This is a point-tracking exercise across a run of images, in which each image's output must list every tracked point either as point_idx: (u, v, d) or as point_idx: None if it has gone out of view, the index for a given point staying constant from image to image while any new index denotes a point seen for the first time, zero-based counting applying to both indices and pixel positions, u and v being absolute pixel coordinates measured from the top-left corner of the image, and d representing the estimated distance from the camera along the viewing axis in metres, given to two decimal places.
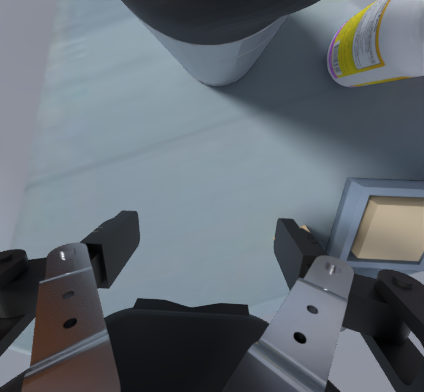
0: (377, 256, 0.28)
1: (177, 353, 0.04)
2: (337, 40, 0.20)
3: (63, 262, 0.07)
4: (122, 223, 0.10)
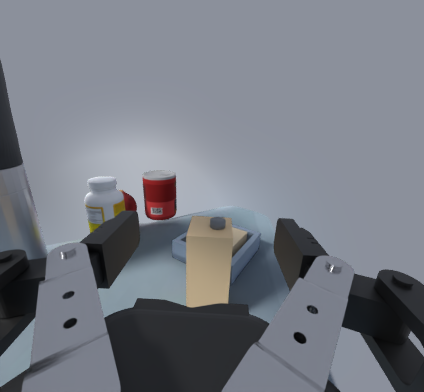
0: None
1: (177, 353, 0.04)
2: None
3: (63, 262, 0.07)
4: (122, 223, 0.10)
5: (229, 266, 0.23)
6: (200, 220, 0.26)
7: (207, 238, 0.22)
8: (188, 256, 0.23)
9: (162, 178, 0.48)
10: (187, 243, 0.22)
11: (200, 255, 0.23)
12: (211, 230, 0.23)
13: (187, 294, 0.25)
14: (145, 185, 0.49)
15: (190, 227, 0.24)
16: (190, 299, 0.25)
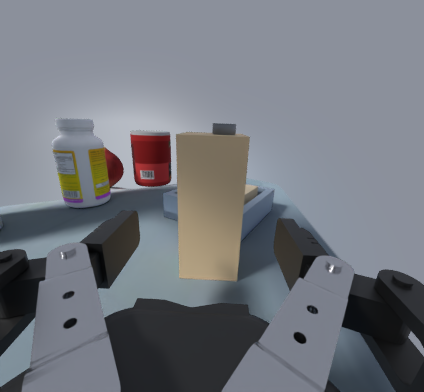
0: None
1: (177, 353, 0.04)
2: (62, 192, 0.31)
3: (63, 262, 0.07)
4: (122, 223, 0.10)
5: (243, 187, 0.15)
6: None
7: (209, 138, 0.14)
8: (180, 172, 0.15)
9: (153, 133, 0.40)
10: (178, 148, 0.14)
11: (199, 170, 0.15)
12: None
13: (180, 237, 0.17)
14: (133, 143, 0.41)
15: (183, 133, 0.16)
16: (184, 246, 0.17)
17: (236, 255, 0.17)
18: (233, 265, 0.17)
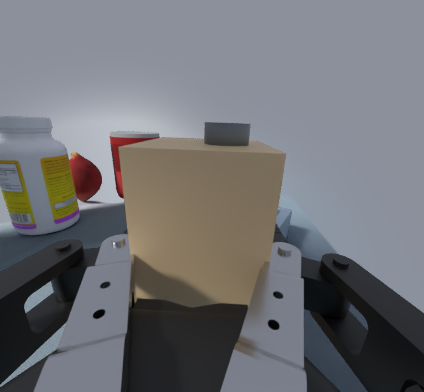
0: None
1: (177, 353, 0.04)
2: None
3: (118, 251, 0.08)
4: None
5: (265, 257, 0.07)
6: (179, 139, 0.10)
7: (195, 157, 0.06)
8: (134, 225, 0.07)
9: (137, 135, 0.32)
10: (125, 177, 0.07)
11: (174, 222, 0.07)
12: (207, 146, 0.07)
13: None
14: (113, 147, 0.33)
15: (146, 142, 0.08)
16: None
17: None
18: None
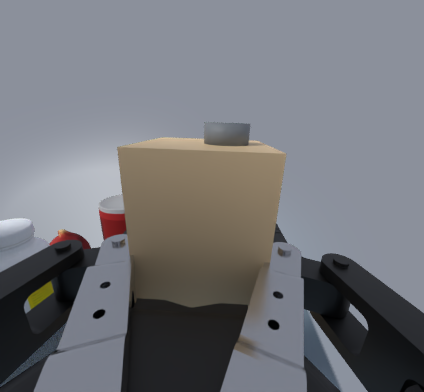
0: None
1: (177, 353, 0.04)
2: None
3: (118, 251, 0.08)
4: None
5: (266, 257, 0.07)
6: (179, 139, 0.10)
7: (194, 156, 0.06)
8: (133, 226, 0.07)
9: None
10: (125, 177, 0.07)
11: (173, 222, 0.07)
12: (207, 146, 0.07)
13: None
14: (102, 220, 0.32)
15: (145, 142, 0.08)
16: None
17: None
18: None
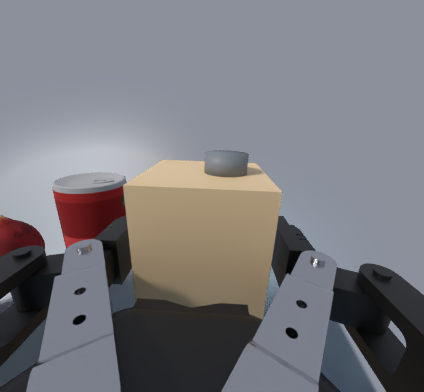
0: None
1: (177, 353, 0.04)
2: None
3: (81, 258, 0.07)
4: None
5: (263, 285, 0.08)
6: (180, 164, 0.10)
7: (196, 194, 0.07)
8: (137, 255, 0.07)
9: (88, 189, 0.23)
10: (129, 212, 0.07)
11: (175, 253, 0.07)
12: (207, 177, 0.08)
13: None
14: (56, 204, 0.24)
15: (148, 172, 0.08)
16: None
17: None
18: None
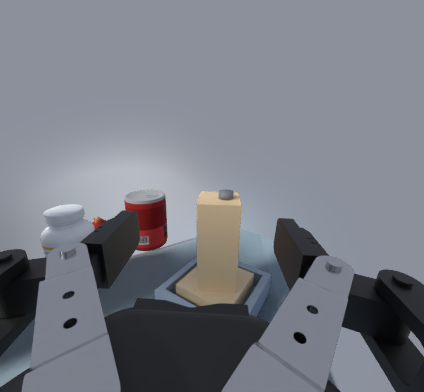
0: (234, 296, 0.26)
1: (177, 353, 0.04)
2: None
3: (63, 262, 0.07)
4: (122, 223, 0.10)
5: (238, 234, 0.24)
6: (208, 194, 0.27)
7: (217, 206, 0.23)
8: (198, 225, 0.24)
9: (147, 201, 0.39)
10: (197, 212, 0.23)
11: (210, 224, 0.24)
12: (220, 200, 0.24)
13: (198, 264, 0.26)
14: (127, 210, 0.41)
15: (200, 198, 0.25)
16: (200, 270, 0.26)
17: (235, 276, 0.26)
18: (233, 283, 0.26)
